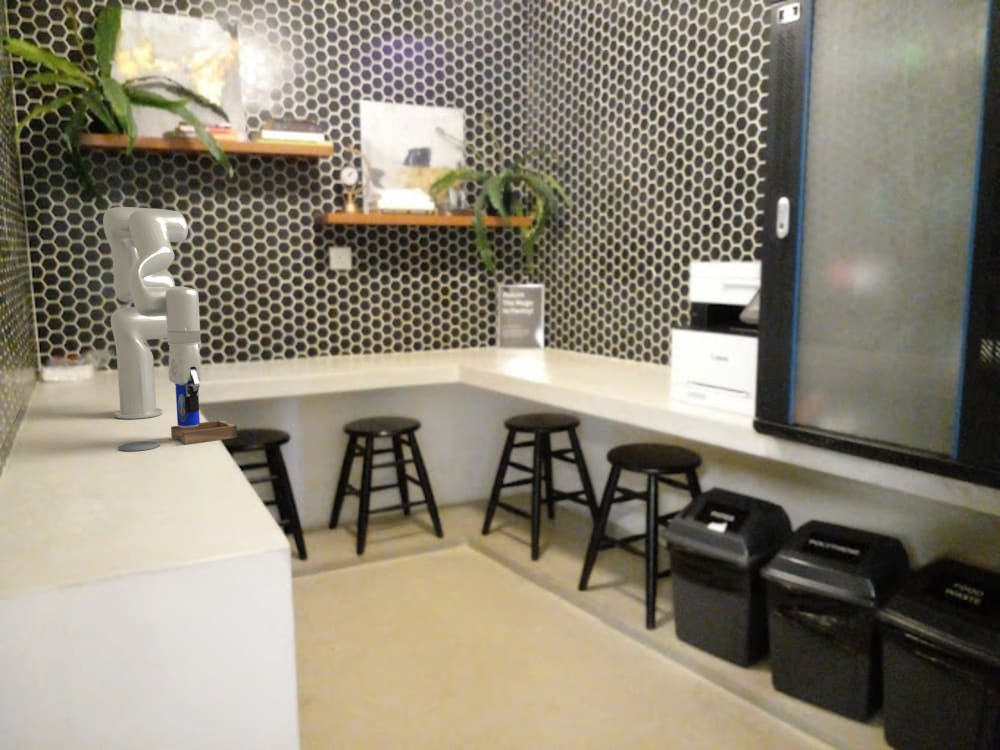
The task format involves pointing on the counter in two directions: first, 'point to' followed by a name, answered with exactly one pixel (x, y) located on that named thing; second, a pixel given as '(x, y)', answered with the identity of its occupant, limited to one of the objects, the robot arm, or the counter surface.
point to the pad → (138, 446)
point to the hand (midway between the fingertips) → (187, 409)
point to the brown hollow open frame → (204, 432)
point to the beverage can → (182, 417)
